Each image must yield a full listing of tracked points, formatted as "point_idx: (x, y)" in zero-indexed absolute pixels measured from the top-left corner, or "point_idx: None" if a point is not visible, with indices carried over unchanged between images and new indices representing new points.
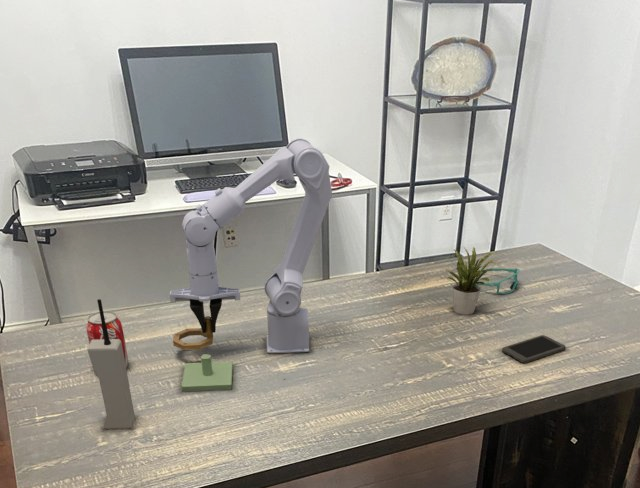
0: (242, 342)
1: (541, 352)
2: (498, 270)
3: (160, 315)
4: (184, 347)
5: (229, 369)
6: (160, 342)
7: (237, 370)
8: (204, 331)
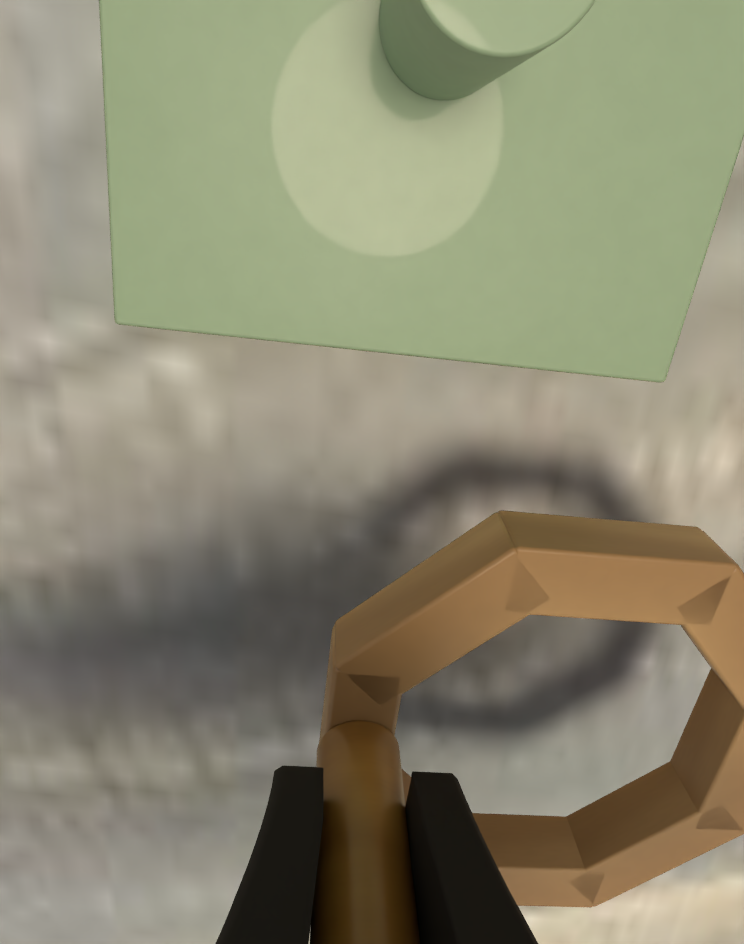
0: (75, 744)
1: None
2: None
3: None
4: (712, 548)
5: (138, 87)
6: None
7: (71, 197)
8: (435, 789)
